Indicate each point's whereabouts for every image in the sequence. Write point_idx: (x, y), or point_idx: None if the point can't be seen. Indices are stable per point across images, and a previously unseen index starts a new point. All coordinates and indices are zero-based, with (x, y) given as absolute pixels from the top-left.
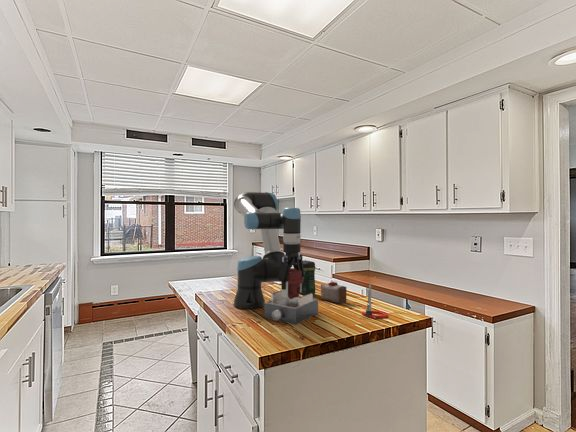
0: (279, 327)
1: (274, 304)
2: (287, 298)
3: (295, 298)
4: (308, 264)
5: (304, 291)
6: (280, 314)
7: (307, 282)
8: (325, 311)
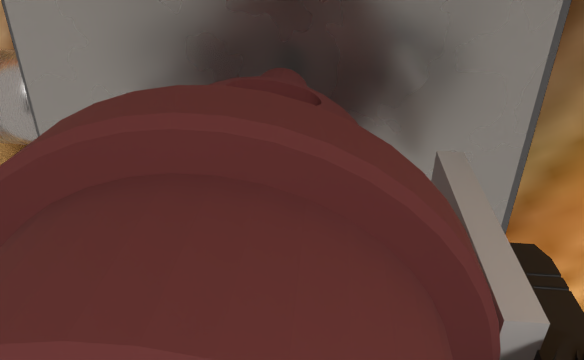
0: (3, 153)
1: (22, 47)
2: (332, 43)
3: (387, 132)
4: None
5: None
6: (27, 144)
7: None
8: (546, 253)
